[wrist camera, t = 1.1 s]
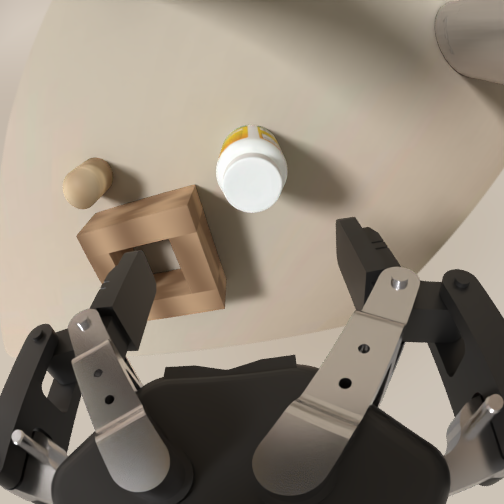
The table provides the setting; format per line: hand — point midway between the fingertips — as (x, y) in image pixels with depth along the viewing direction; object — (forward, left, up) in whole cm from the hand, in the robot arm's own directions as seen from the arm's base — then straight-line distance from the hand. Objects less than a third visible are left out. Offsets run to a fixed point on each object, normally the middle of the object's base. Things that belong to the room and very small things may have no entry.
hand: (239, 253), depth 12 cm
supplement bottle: (-1, +1, -19) cm, 19 cm away
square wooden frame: (+11, +9, -18) cm, 23 cm away
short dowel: (+15, -1, -19) cm, 24 cm away
